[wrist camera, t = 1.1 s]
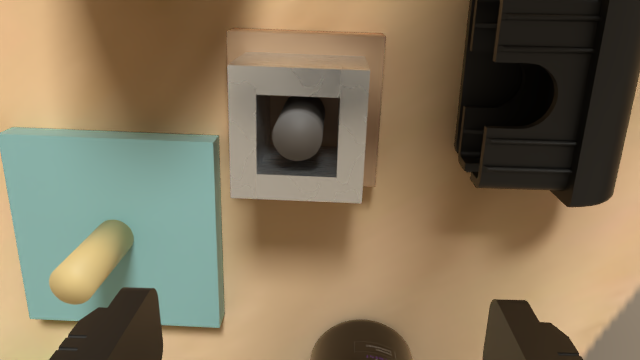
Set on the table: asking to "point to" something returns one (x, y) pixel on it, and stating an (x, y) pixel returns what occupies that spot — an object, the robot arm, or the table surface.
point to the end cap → (548, 95)
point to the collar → (254, 127)
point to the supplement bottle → (361, 343)
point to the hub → (116, 220)
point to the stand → (316, 112)
